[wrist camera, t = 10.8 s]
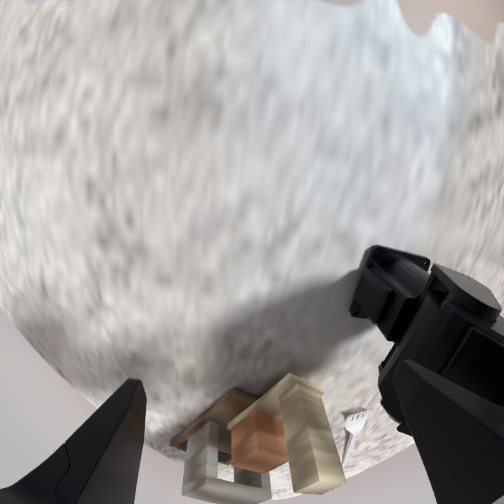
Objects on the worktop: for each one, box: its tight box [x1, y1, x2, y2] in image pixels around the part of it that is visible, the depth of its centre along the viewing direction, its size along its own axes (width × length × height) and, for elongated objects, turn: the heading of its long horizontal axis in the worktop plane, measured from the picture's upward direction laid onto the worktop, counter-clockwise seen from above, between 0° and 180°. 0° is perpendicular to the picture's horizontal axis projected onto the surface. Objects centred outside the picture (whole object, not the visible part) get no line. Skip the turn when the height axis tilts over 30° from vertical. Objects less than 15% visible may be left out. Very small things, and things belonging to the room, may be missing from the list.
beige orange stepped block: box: [227, 373, 346, 495], centre depth 20 cm, size 10×4×11 cm, turn 143°
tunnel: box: [170, 387, 272, 504], centre depth 24 cm, size 14×9×9 cm, turn 143°
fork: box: [342, 409, 373, 467], centre depth 31 cm, size 3×20×2 cm, turn 8°
